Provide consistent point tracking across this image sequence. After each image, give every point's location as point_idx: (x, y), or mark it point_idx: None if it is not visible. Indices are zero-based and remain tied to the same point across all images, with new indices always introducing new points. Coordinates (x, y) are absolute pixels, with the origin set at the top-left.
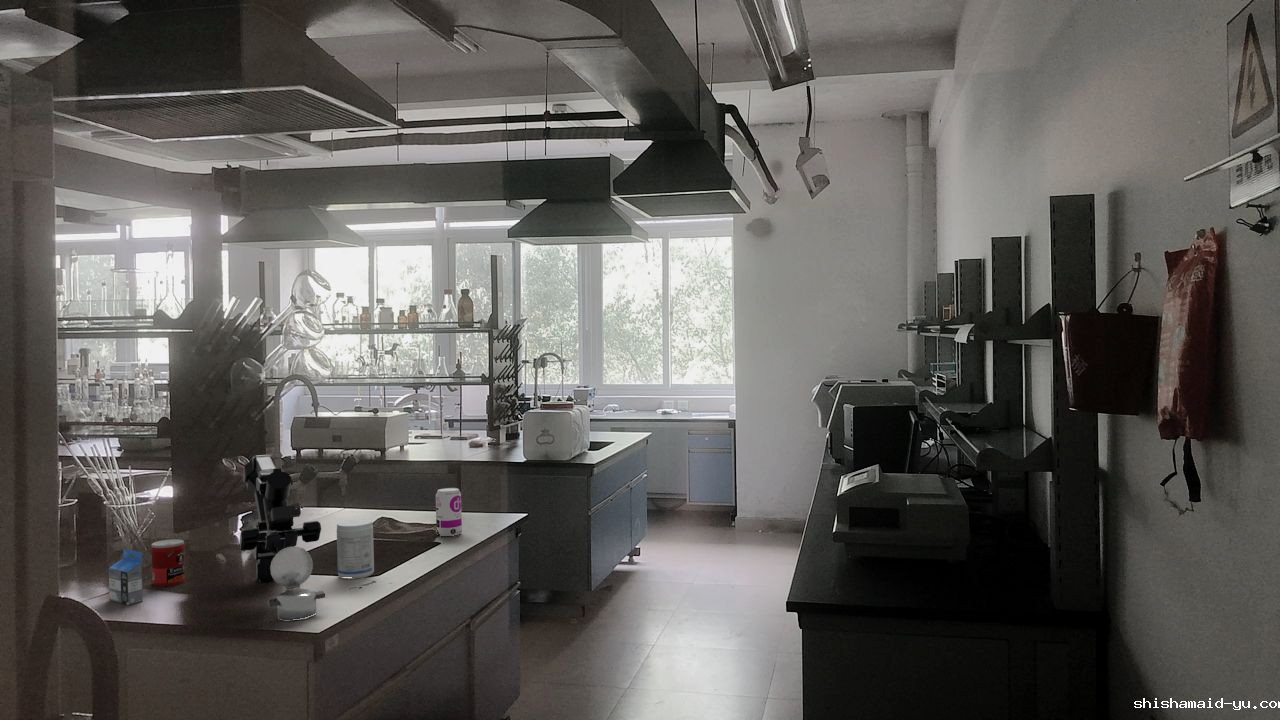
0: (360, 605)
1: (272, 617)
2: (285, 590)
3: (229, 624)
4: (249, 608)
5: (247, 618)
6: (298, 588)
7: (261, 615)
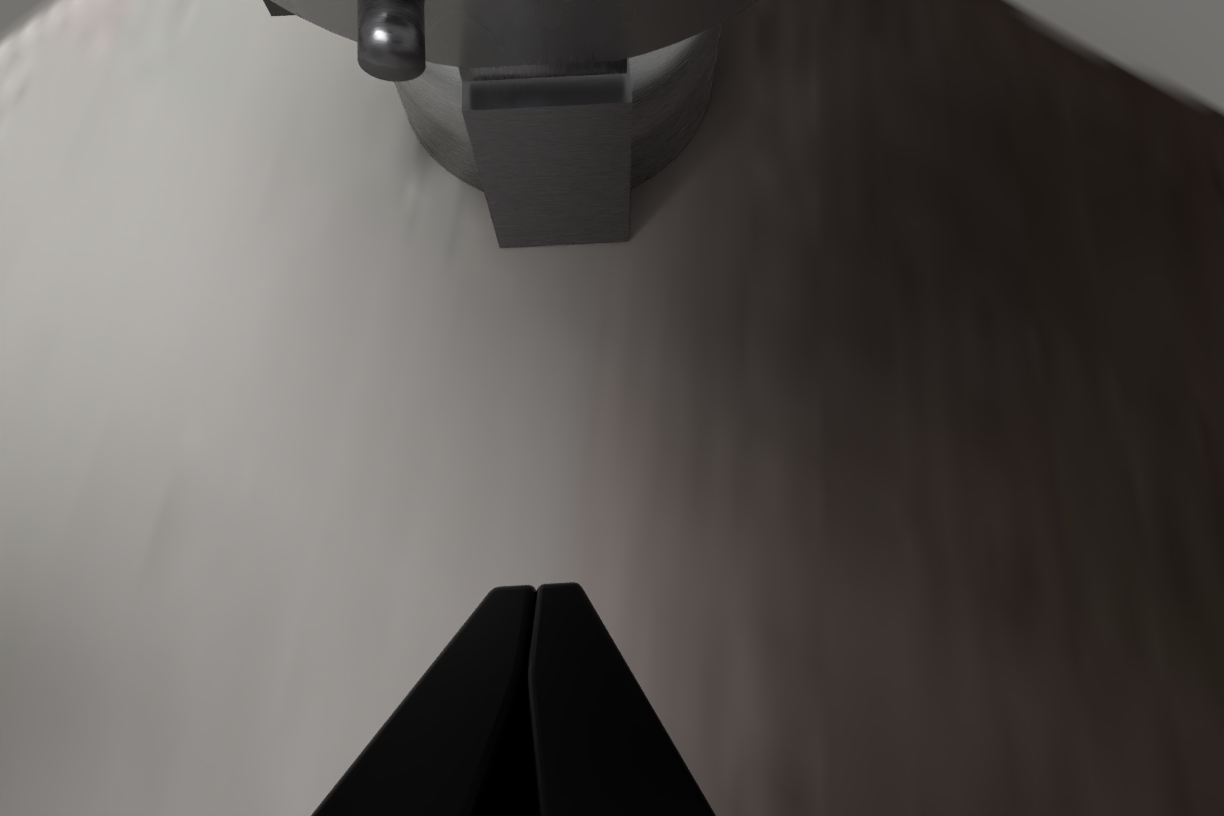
0: (27, 84)
1: (751, 129)
2: (632, 103)
3: (1094, 121)
4: (972, 534)
5: (961, 207)
6: (479, 93)
7: (843, 231)
